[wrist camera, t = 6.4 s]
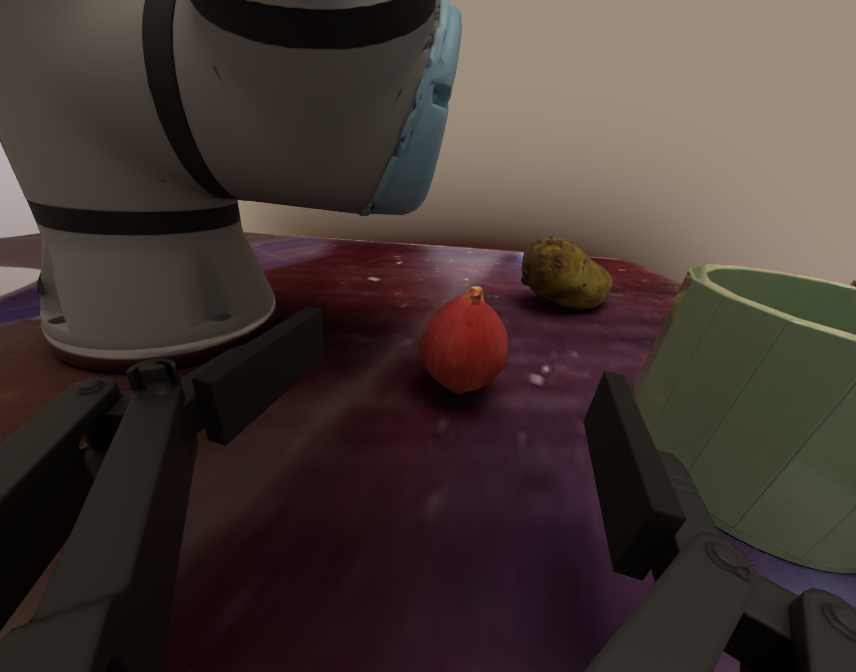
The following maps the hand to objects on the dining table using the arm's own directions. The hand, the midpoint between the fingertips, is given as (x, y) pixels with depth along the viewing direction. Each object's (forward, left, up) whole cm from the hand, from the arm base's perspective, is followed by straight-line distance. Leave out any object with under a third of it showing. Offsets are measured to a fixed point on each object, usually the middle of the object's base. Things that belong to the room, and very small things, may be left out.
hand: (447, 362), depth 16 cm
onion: (-6, +3, -7) cm, 9 cm away
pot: (+3, +18, -6) cm, 20 cm away
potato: (-21, +22, -6) cm, 31 cm away
